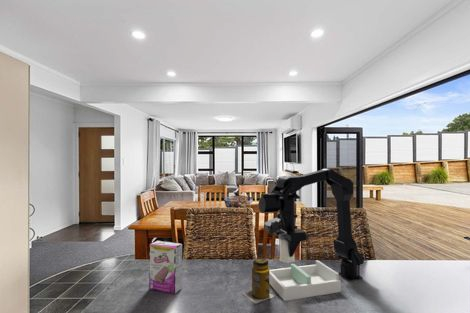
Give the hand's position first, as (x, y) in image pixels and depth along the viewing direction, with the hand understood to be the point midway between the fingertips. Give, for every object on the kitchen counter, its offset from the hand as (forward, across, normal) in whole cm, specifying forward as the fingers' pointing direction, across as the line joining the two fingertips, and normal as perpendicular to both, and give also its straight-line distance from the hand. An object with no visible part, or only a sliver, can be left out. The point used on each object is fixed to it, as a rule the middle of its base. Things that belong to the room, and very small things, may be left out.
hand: (287, 253), depth 93 cm
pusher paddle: (+11, 0, +6) cm, 13 cm away
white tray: (+12, 0, +6) cm, 14 cm away
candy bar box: (+12, -11, -43) cm, 46 cm away
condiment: (+13, +2, -12) cm, 18 cm away
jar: (+2, 0, 0) cm, 2 cm away
